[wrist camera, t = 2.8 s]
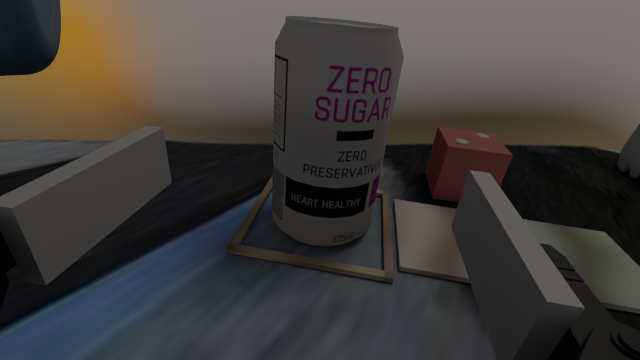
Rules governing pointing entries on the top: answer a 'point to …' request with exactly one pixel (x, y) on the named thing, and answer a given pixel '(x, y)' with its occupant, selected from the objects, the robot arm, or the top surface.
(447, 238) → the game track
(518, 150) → the top surface
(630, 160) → the bottle
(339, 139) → the supplement can
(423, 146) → the top surface
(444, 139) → the red die
